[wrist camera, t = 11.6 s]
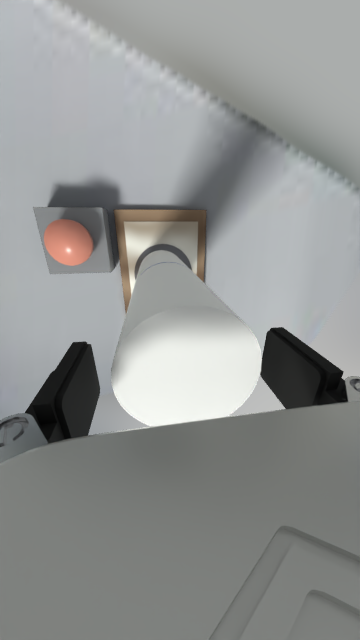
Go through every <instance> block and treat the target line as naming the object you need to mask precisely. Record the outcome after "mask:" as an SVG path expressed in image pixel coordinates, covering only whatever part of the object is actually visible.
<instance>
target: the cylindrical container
mask: <svg viewBox="0 0 360 640" xmlns="http://www.w3.org/2000/svg"><path fill="white" fill-rule="evenodd" d="M261 363H262V357H261V350H260V346H259V344H258V341H257V339H256V336H255V335H254V334H253V332H252V331H251V329H250V328H249V327H248V326H247V325H246V324H245V323H244V322H243V321H242V320H241V319H240V318H239V317H238V316H237V315H236V314H235V313H234V312H233V311H232V310H231V309H230V308H229V307H228V306H227V305H226V304H225V303H224V302H223V301H222V300H221V299H220V298H219V297H218V296H217V295H216V294H215V293H214V292H213V291H212V290H211V289H210V288H209V287H208V286H207V285H206V284H205V283H204V282H203V281H202V280H201V279H200V278H199V277H198V276H197V275H196V274H195V273H194V272H193V271H192V270H191V269H189V268H188V267H187V266H186V265H185V264H184V263H183V262H182V261H181V260H180V259H179V258H178V257H177V256H176V255H175V254H173V253H171V252H169V251H165V250H158V251H154V252H152V253H150V254H148V255H147V256H146V257H145V258H144V259H143V261H142V263H141V265H140V268H139V271H138V275H137V278H136V282H135V285H134V289H133V292H132V296H131V299H130V303H129V306H128V310H127V313H126V317H125V320H124V324H123V327H122V331H121V334H120V338H119V341H118V345H117V349H116V352H115V356H114V360H113V364H112V368H111V383H112V387H113V390H114V394H115V396H116V398H117V399H118V401H119V403H120V405H121V406H122V407H123V408H124V409H125V410H126V411H127V413H128V414H130V415H131V416H132V417H134V418H135V419H137V420H138V421H140V422H142V423H144V424H146V425H148V426H159V425H167V424H174V423H182V422H189V421H197V420H205V419H212V418H220V417H227V416H228V415H230V414H231V413H233V412H234V411H235V410H236V409H238V408H239V407H240V406H241V405H242V404H243V403H244V402H245V401H246V400H247V398H248V397H249V396H250V395H251V393H252V391H253V389H254V388H255V386H256V384H257V382H258V379H259V375H260V372H261Z"/></svg>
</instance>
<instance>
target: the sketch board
mask: <svg viewBox="0 0 360 640" xmlns="http://www.w3.org/2000/svg"><path fill="white" fill-rule="evenodd" d="M114 216H115V225H116V233H117V242H118V250H119V259H120V267H121V276H122V284H123V293H124V301H125V310H126V313H127V310H128V306H129V303H130V299H131V296H132V292H133V289H134V285H135V282H136V278H137V275H138V271H139V268H140V265H141V263H142V261H143V259H144V258H145V257H146V256H147V255H148V254H150V253H152V252H154V251H158V250H165V251H169V252H171V253H173V254H175V255H176V256H177V257H178V258H179V259H180V260H181V261H182V262H183V263H184V264H185V265H186V266H187V267H188V268H189V269H191V270H192V271H193V272H194V273H195V274H196V275H197V276H198V277H199V278H200V279H201V280H202V281H203V282H204V258H205V234H206V210H114Z"/></svg>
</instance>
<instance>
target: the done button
mask: <svg viewBox="0 0 360 640" xmlns="http://www.w3.org/2000/svg"><path fill="white" fill-rule="evenodd" d="M44 243H45V247H46V249H47V251H48V252H49V254H50V255H51V256H52V257H53V258H54V259H55V260H56V261H58V262H60V263H62V264H65V265H69V266H75V265H79V264H81V263H83V262H85V261H87V260H88V259H89V258H90V256H91V255H92V252H93V240H92V237H91V235H90V233H89V231H88V230H87V229H86V228H85V227H84V226H83V225H82V224H80V223H78V222H76V221H73V220H68V219H59V220H55V221H53V222H51V223H50V224H49V225H48V226H47V228H46V230H45V233H44Z"/></svg>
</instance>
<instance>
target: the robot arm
mask: <svg viewBox="0 0 360 640" xmlns="http://www.w3.org/2000/svg"><path fill="white" fill-rule="evenodd" d="M260 375H261V377H262V378H263V380H264V381H265V382H266V384H267V385H268V386H269V388H270V389H271V390H272V391H273V393H274V394H275V395H276V397H277V398H278V399H279V400H280V402H281V403H282V404H283V406H284V407H285V408H286V409H284V410H276V411H267V412H259V413H251V414H244V415H236V416H228V417H220V418H212V419H205V420H197V421H189V422H182V423H174V424H167V425H159V426H152V427H145V428H138V429H130V430H122V431H116V432H107V433H101V434H95V435H89V436H88V433H89V429H90V426H91V422H92V419H93V415H94V411H95V408H96V405H97V401H98V398H99V394H100V386H99V381H98V376H97V371H96V366H95V361H94V356H93V352H92V347H91V344H87V342H73V343H72V345H71V346H70V348H69V349H68V351H67V352H66V354H65V355H64V357H63V359H62V360H61V362H60V363H59V365H58V366H57V368H56V369H55V371H53V372H52V373H51V374H50V375H49V377H48V379H47V380H46V382H45V383H44V385H43V386H42V388H41V389H40V391H39V392H38V394H37V395H36V397H35V398H34V400H33V401H32V403H31V404H30V406H29V407H28V409H27V410H26V412H25V413H18V414H14V415H11V416H8V417H6V418H3V419H2V420H0V640H360V377H356V376H351V377H348V378H346V379H345V380H343V379H342V378H341V377H342V375H343V371H342V370H340V369H339V368H338V367H336V366H335V365H333V364H332V363H331V362H329V361H328V360H327V359H325V358H324V357H322V356H321V355H320V354H318V353H317V352H316V351H314V350H313V349H312V348H310V347H309V346H308V345H306V344H305V343H303V342H302V341H301V340H299V339H298V338H297V337H295V336H294V335H292V334H291V333H290V332H288V331H287V330H286V329H284V328H282V327H279V328H271V329H270V331H268V332H267V335H266V340H265V346H264V351H263V357H262V363H261V372H260Z"/></svg>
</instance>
